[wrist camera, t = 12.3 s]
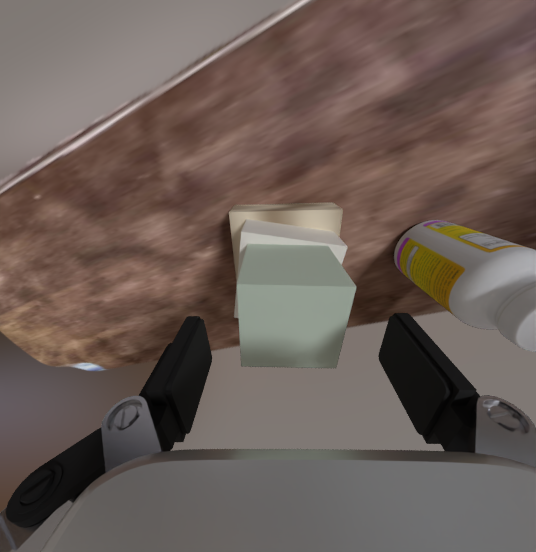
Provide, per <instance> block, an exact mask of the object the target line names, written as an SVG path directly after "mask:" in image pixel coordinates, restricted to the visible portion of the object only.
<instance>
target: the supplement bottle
mask: <svg viewBox="0 0 536 552" xmlns="http://www.w3.org/2000/svg"><path fill="white" fill-rule="evenodd" d="M394 261H395V264H396V266H397V268H398V269H399V271H400V272H401V273H403V274H404V275H405V276H406V277H407V278H409V279H410V280H411V281H412V282H413V283H415V284H416V285H417V286H418V287H420V288H421V289H422V290H423V291H425V292H426V293H427V294H428V295H429V296H431V297H432V298H433V299H434V300H436V301H437V302H438V303H439V304H441V305H442V306H443V307H444V308H445V309H447V310H448V311H449V312H450V313H452V314H453V315H454V316H455V317H457V318H458V319H459V320H461V321H462V322H464V323H465V324H467V325H470V326H472V327H475V328H480V329H490V330H494V329H499V331H500V333H501V334H502V335H503V336H504V337H506V338H507V339H508V340H510V341H511V342H513V343H514V344H515V345H517V346H518V347H520V348H522V349H524V350H528V351H533V352H536V250H534V249H531V248H528V247H525V246H522V245H518V244H515V243H512V242H509V241H506V240H503V239H500V238H497V237H494V236H490V235H487V234H484V233H481V232H478V231H475V230H472V229H469V228H466V227H463V226H460V225H456V224H454V223H450V222H447V221H442V220H430V221H425V222H422V223H420V224H418V225H416V226H414V227H412V228H411V229H410V230H408V231H407V232H406V233H405V234H404V235H403V236H402V237H401V239H400V240H399V242H398V243H397V246H396V248H395V252H394Z"/></svg>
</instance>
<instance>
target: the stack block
mask: <svg viewBox="0 0 536 552" xmlns="http://www.w3.org/2000/svg"><path fill="white" fill-rule="evenodd" d="M355 291H356V285H355V284H354V282H353V281H352V280H351V278H350V277H349V275H348V274H347V272H346V271H345V270H344V268H343V267H342V265H341V264H340V262H339V261H338V259H337V258H336V257H335V255H334V254H333V252H332V251H331V249H330V248H329V246H322V245H278V244H248V245H247V248H246V252H245V256H244V259H243V263H242V267H241V270H240V274H239V278H238V281H237V298H238V316H239V334H240V352H241V366H249V367H251V366H252V367H296V368H336V367H337V363H338V359H339V355H340V351H341V347H342V343H343V339H344V335H345V331H346V327H347V323H348V319H349V315H350V311H351V307H352V303H353V299H354V295H355Z"/></svg>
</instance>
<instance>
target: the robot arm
mask: <svg viewBox="0 0 536 552" xmlns="http://www.w3.org/2000/svg"><path fill="white" fill-rule="evenodd" d="M379 361H380V363H381V365H382V367H383V369H384V371H385V373H386V374H387V376H388V378H389V380H390V382H391V384H392V385H393V387H394V389H395V391H396V393H397V395H398V397H399V399H400V401H401V403H402V405H403V406H404V408H405V410H406V412H407V414H408V416H409V418H410V420H411V421H412V423H413V425H414V427H415V429H416V431H417V432H418V433H419V434H420V435H422V436H423V438H424V439H425V441H426V443H427V444H441V445H442V447H443V449H444V450H445V451H412V450H411V451H410V450H409V451H408V450H329V449H328V450H326V449H324V450H323V449H318V450H317V449H200V450H199V449H198V450H176V451H170V450H171V449H172V448H173V445H174V442H183V441H184V438H185V435H186V434H188V433H190V430H191V428H192V424H193V421H194V418H195V415H196V411H197V408H198V405H199V402H200V398H201V395H202V392H203V389H204V385H205V382H206V379H207V376H208V372H209V369H210V366H211V362H212V355H211V350H210V346H209V341H208V337H207V332H206V328H205V324H204V320H203V319H200V317H199V316H188V317H187V318H186V319H185V321H184V323H183V325H182V326H181V328H180V330H179V332H178V334H177V335H176V337H175V339H174V341H173V343H170V344H168V346H167V347H166V349H165V351H164V352H163V354H162V356H161V357H160V359H159V361H158V363H157V365H156V366H155V368H154V370H153V372H152V373H151V375H150V377H149V378H148V380H147V382H146V384H145V386H144V387H143V389H142V391H141V393H140V394H139V396H131V397H127V398H125V399H123V400H121V401H120V402H118V403H117V404H115V405H114V406H113V407H112V408H111V409H110V410H109V411H108V413H107V414H106V415H105V417H104V419H103V421H102V427H101V428H99V429H97V430H96V431H94V432H93V433H91V434H90V435H88V436H87V437H85V438H84V439H82V440H81V441H79V442H77V443H76V444H74V445H73V446H71V447H70V448H68V449H67V450H65V451H64V452H62V453H61V454H59V455H57V456H56V457H55V458H53V459H51V460H50V461H48V462H47V463H45V464H44V465H42V466H40V467H39V468H38V469H36V470H35V471H34V472H32V473H31V474H30V475H29V476H28V477H27V478H26V479H25V480H24V481H23V482H22V483H21V484H20V485H19V487H18V488H17V489H16V490H15V492H14V493H13V495H12V497H11V499H10V500H9V502H8V505H7V507H6V508H5V509H4V510H3V511H2V512H1V513H0V552H536V427H535V425H534V423H533V422H532V421H531V419H530V418H529V417H528V416H527V415H526V414H525V413H524V412H523V411H521V410H520V409H519V408H517V407H516V406H514V405H513V404H511V403H509V402H508V401H506V400H504V399H501V398H498V397H495V396H490V395H484V396H479V394H478V393H477V392H476V389H475V388H474V387H473V385H472V384H471V383H470V382H469V381H468V380H467V379H466V378H465V376H464V375H463V374H462V373H461V372H460V371H459V370H458V368H457V367H456V366H455V365H454V364H453V363H452V362H451V361H450V359H449V358H448V357H447V356H446V355H445V354H444V353H443V352H442V351H441V349H440V348H439V347H438V346H437V345H436V344H435V343H434V341H432V339H431V338H430V337H429V336H428V335H427V334H426V333H425V332H424V330H423V329H422V328H421V327H420V326H419V325H418V324H417V322H416V321H415V320H414V319H413V318H412V317H411V316H410V315H409V314H408V313H395V314H394V315H393V316H391V317H390V318H389V321H388V325H387V328H386V331H385V335H384V338H383V342H382V345H381V348H380V352H379Z"/></svg>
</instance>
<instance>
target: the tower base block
mask: <svg viewBox="0 0 536 552" xmlns="http://www.w3.org/2000/svg"><path fill="white" fill-rule="evenodd" d="M342 213H343V209H342V208H340V207H339V206H337V205H336V204H334V203H297V204H259V205H234V207H233V208H232V209H231V210H230V211H229V218H230V228H231V237H232V246H233V255H234V264H235V273H236V282H237V276H238V264H239V252H240V241H241V231H242V229H243V226H244V224H245V222H246V219H251V220H258V221H265V222H272V223H279V224H286V225H293V226H300V227H306V228H313V229H320V230H327V231H334V232H335V233H336V234H337V236H338V237H339V236H340V228H341V221H342Z"/></svg>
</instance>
